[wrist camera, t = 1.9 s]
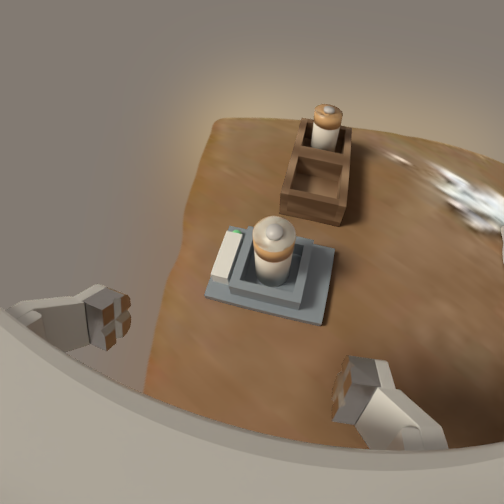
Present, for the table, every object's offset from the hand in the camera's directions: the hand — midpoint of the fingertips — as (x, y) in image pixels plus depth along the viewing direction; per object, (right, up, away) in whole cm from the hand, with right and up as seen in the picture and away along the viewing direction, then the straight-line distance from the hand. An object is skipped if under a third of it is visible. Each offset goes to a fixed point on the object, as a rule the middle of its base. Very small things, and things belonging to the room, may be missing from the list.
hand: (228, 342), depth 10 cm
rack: (+11, +15, +33) cm, 38 cm away
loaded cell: (+12, +19, +35) cm, 41 cm away
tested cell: (+3, +1, +25) cm, 25 cm away
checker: (+3, 0, +26) cm, 26 cm away
